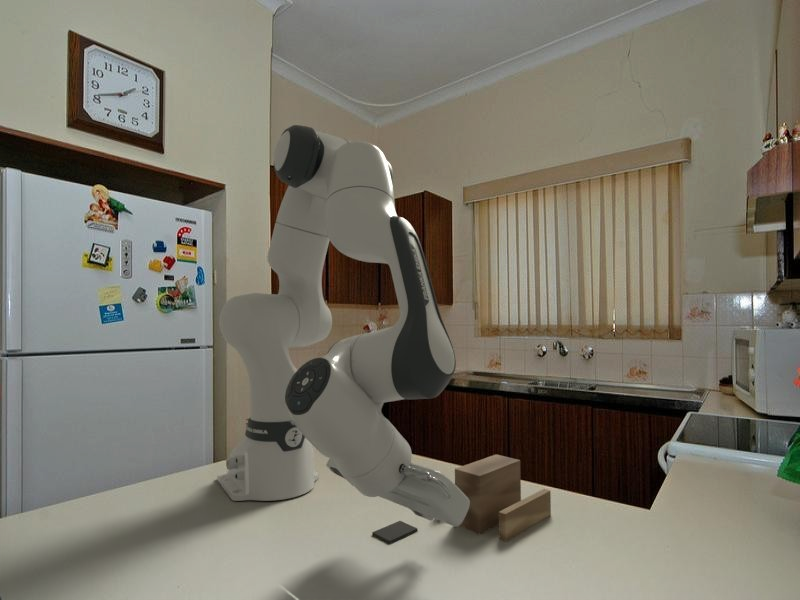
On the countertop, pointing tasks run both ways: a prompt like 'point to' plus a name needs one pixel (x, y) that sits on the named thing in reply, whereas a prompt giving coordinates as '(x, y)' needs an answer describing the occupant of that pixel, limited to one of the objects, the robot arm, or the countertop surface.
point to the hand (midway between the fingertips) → (427, 513)
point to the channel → (524, 514)
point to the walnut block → (488, 490)
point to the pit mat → (394, 532)
